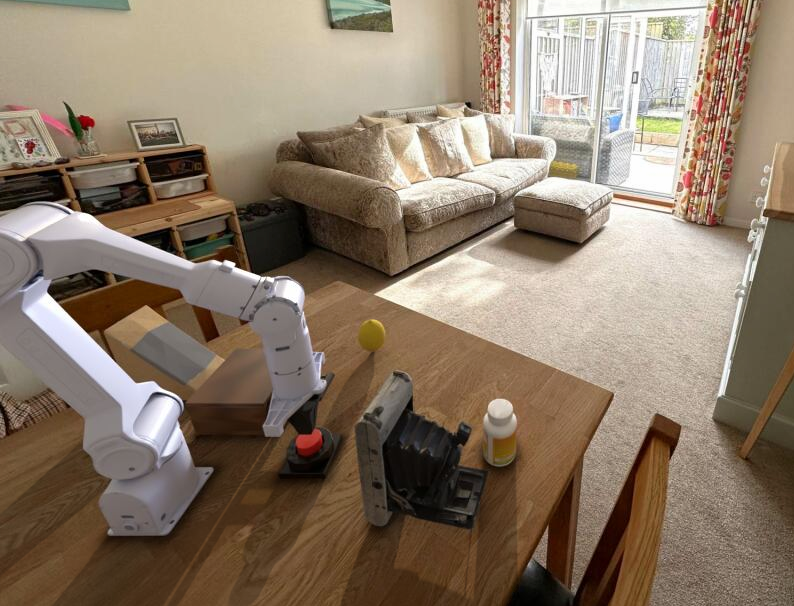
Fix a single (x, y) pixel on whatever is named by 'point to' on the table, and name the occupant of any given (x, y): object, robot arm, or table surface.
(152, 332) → the sandwich container
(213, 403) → the wooden drawer cabinet
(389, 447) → the vintage camera
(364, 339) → the lemon
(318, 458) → the black button housing
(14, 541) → the table surface
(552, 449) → the table surface
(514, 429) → the supplement bottle
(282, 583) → the table surface
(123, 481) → the robot arm
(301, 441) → the release button
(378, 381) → the table surface
